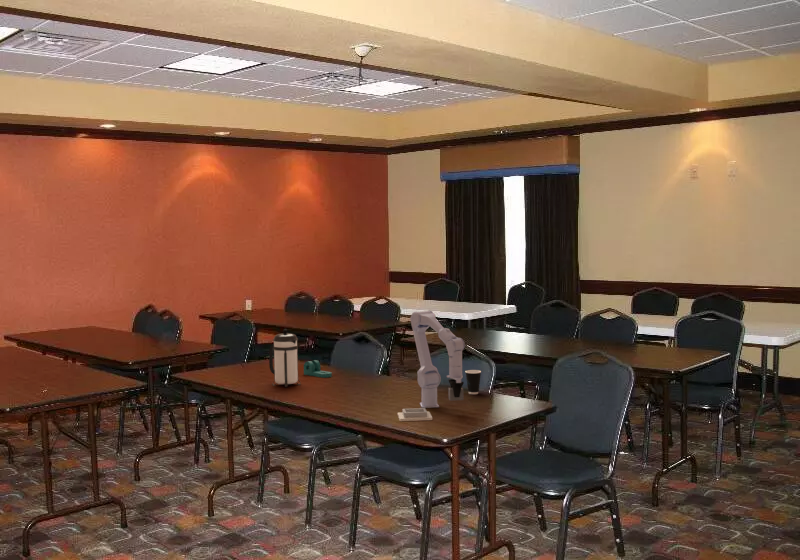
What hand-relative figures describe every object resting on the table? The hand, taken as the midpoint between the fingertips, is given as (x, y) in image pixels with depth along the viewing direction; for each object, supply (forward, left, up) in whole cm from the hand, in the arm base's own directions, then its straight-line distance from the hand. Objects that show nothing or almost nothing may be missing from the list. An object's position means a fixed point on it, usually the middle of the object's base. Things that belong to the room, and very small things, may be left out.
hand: (455, 396), depth 359 cm
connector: (0, 0, -2) cm, 2 cm away
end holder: (+5, -19, -8) cm, 21 cm away
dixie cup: (-41, +15, -8) cm, 44 cm away
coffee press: (-78, -80, -8) cm, 112 cm away
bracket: (-103, -62, -8) cm, 121 cm away
